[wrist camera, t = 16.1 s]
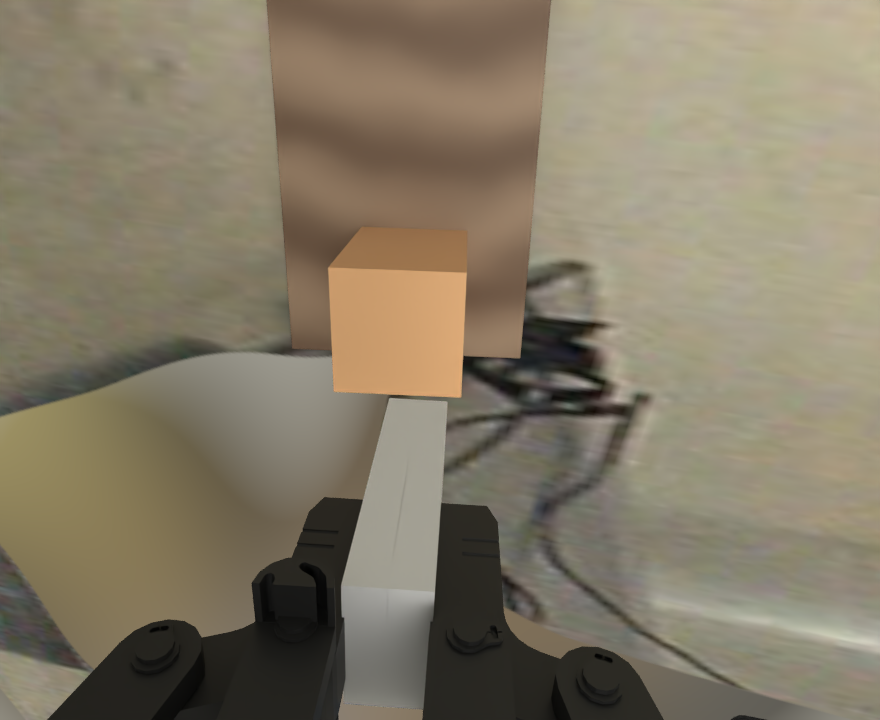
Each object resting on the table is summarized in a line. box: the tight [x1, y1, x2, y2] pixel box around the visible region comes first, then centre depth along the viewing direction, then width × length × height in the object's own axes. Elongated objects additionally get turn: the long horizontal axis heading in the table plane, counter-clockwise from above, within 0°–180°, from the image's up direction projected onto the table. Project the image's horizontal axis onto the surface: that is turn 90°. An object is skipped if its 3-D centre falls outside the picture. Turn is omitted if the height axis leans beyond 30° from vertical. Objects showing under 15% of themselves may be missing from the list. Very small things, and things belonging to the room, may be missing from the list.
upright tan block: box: [328, 227, 467, 397], centre depth 34 cm, size 6×6×10 cm
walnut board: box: [267, 0, 551, 358], centre depth 36 cm, size 26×15×2 cm, turn 178°
